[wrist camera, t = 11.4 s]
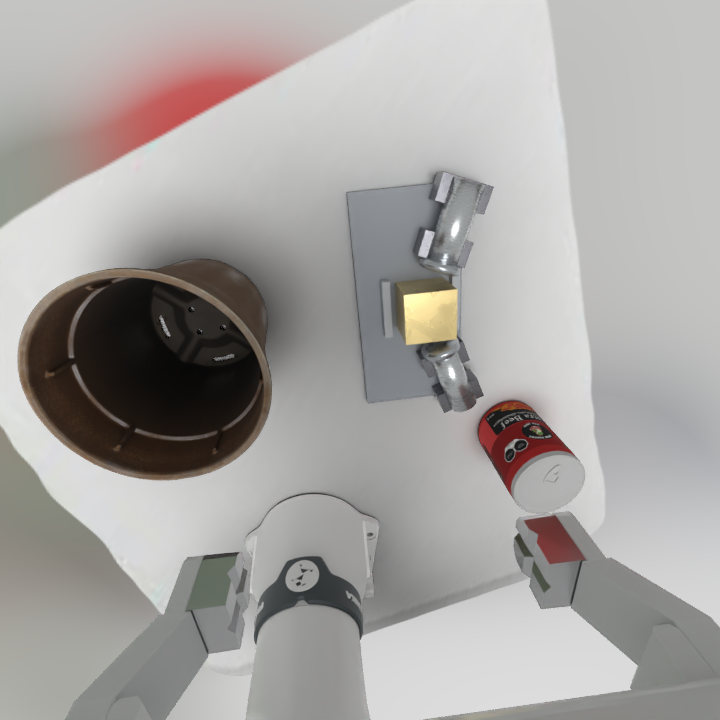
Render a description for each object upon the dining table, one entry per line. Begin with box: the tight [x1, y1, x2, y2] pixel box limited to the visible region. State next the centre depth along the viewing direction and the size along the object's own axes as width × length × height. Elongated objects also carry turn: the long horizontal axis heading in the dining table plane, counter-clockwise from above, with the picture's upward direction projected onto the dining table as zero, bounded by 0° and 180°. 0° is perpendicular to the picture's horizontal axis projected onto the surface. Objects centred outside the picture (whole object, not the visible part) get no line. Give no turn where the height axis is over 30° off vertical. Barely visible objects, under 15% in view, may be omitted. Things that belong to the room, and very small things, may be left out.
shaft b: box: [413, 172, 494, 277], centre depth 36 cm, size 8×5×4 cm, turn 165°
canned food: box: [478, 401, 585, 514], centre depth 46 cm, size 8×8×11 cm
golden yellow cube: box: [395, 277, 458, 345], centre depth 39 cm, size 5×5×5 cm
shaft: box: [416, 335, 484, 413], centre depth 43 cm, size 8×5×4 cm, turn 25°
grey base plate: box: [347, 184, 462, 403], centre depth 41 cm, size 23×11×2 cm, turn 5°
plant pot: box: [18, 259, 272, 480], centre depth 34 cm, size 16×16×16 cm
